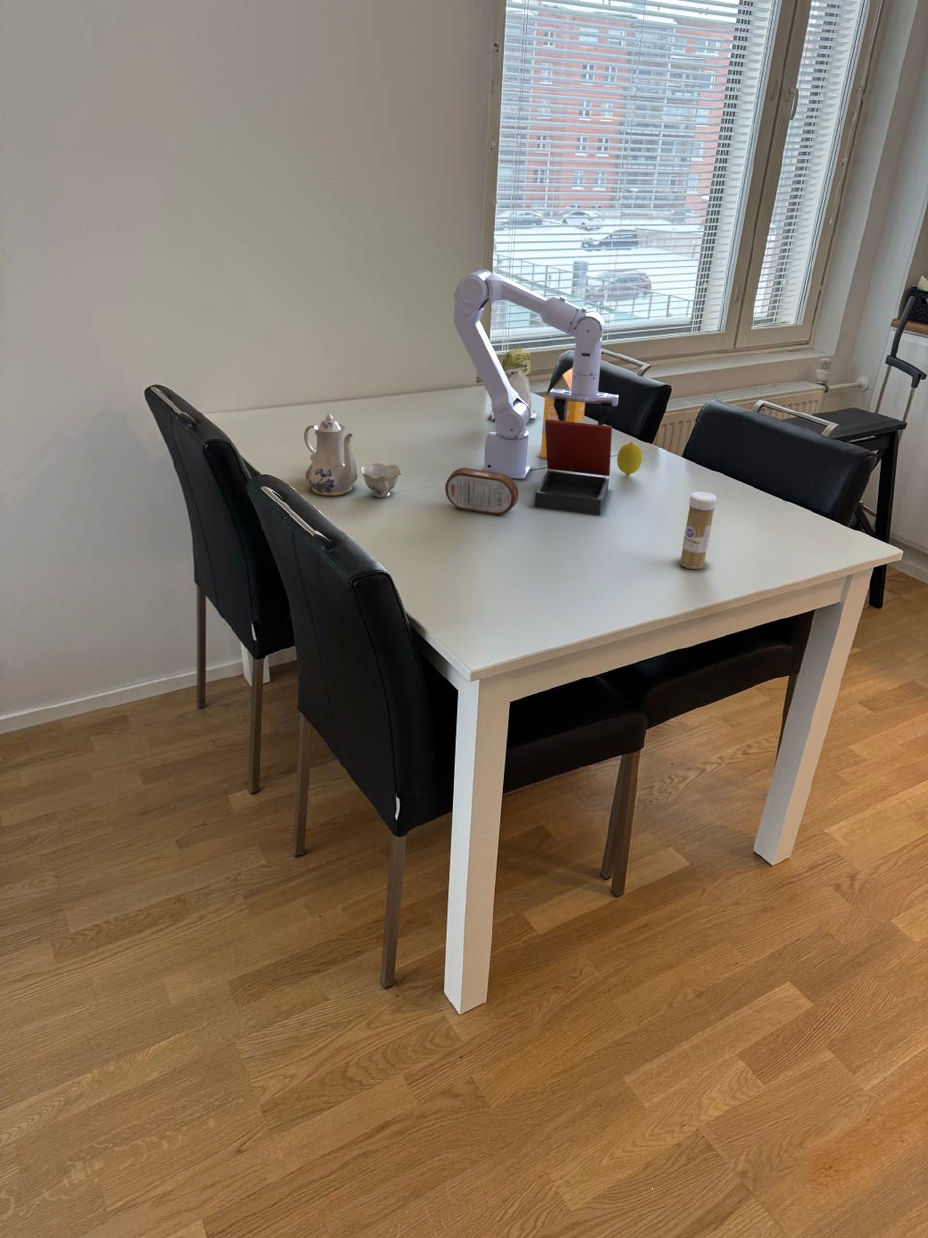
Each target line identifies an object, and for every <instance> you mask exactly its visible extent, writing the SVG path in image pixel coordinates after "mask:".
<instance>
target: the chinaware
mask: <svg viewBox="0 0 928 1238" xmlns="http://www.w3.org/2000/svg"><path fill="white" fill-rule="evenodd" d="M310 429H314V435H315V437H316V447H315V449H313V447H312V445H311V443H310V440H309V433H310ZM345 429H346V426H345V425H343V424H342V423H338V422H337V421H336V419H334V418H333V416H332V415H331V414H330V413H328V414H327V415H326V416H325V419H323V420H322V421H321V423H318V424H312V425H308V426H307V427H306V428H305V430H304V433H303V438H304V443H305V446H306V448H307V450H308V451H309V452H310V453H311V454H310V456H309V457H310V460H311V463H310V464H309V467H308V468H307V470H306V472H305V479H306V481H307V482H308V483H309V485H311V487H312V488H311V491H312V492H313V493H314V494H316V495H320V496H324V497H337V496H344V495H347V494H348V493H350V492H352V490H353V488H352V486H353V485H354V484H355V483H356V482H357V480H358V468H357V463H356V459H355V456H354V452H353V450H354V447H353V446H352V443H351V439H352V437H353V435H354V434H353V433H347V434H346V435H345V436H344V432H345ZM360 473H361V475H362V477H363V479H364V483H365V485H366V486H367V488H368V489H369V490H370V491H372V492H373V493H372V496H374V497H377V498H385V497H388V496H390V494H391V492H390V491H392V490H394V488H395V486H396V485H397V483H398V479H399V476H401V475H402V473H403V472H402V470H400V467H399V466H397V465H395V464H389V465H387V466H386V465H385V464H383V463H377V462H376V463H372V464H370V465H369V466H367V467H366V466H362V467H360Z"/></svg>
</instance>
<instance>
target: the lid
mask: <svg viewBox="0 0 928 1238" xmlns="http://www.w3.org/2000/svg"><path fill="white" fill-rule="evenodd" d="M545 430H546V452H547V458H546V469H547V470H552V471H561V472H570V473H579V474H587V475H596V476H605V477H610V475H611V458H612V457H611V456H612V438H613V437H612V434H613V425H606V424H605V425H604V424H603V425H598V424H595V423H584V422H583V423H576V422H567V421H557V420H547V419H546V420H545Z"/></svg>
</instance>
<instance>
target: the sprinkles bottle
mask: <svg viewBox="0 0 928 1238" xmlns="http://www.w3.org/2000/svg"><path fill="white" fill-rule="evenodd" d="M717 500H718V499H717V497H716V495H714V494H713V493H709V492H705V491H696V492H693V493H691V494H690V496H689V501H688V502H689V503H688V505H689V507H688V508H689V509H688V514H687V520H686V526H685V531H684V534H683V535H684V536H683V540H682V549H681V554H680V555H681V556H680V559H679V564H680V565H681V566H682V567H684V568H685V569H691V570H699V569H702V568H704V567H705V566H706V563H705V562H706V556H707V550H708V548H709V547H708V546H709V541H710V535H711V529H712V521H713V516H714V511H715V509H716V507H717V506H716V505H717Z"/></svg>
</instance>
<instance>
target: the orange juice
mask: <svg viewBox="0 0 928 1238" xmlns="http://www.w3.org/2000/svg"><path fill="white" fill-rule="evenodd" d="M572 372H573V366H571V368H570V369H568V370H567V371H565V372H564V373H562V376H561V377H560V378H559V380H558V381H557V382H556V383H555V384H554V386H553V387H552V388H551V389H550V391H551V390H552V389H554V390H571V385H572ZM550 391H549V392H548V393H547V394H546V395H545V396H544V405H543V406H544V407H543V417H542V419H543V420H542V428H541V429H542V430H541V433H542V434H541V445H540V455H539V456H540V458H543V459H547V452H546V430H545V420H546V419H547V420H557V421H559V419H558V416H557V413H556V410H555V408H554V401H555V400H554V401H553V400H550ZM585 410H586V403H585V402H574V401H568V405H567V413H566V421H567V422H576V423H584V420H585Z"/></svg>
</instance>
